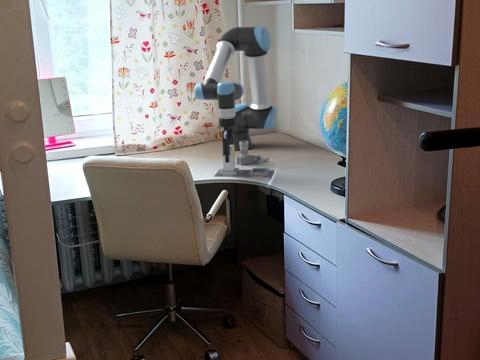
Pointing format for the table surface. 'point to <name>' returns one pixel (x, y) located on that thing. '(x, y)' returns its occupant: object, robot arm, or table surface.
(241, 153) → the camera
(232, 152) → the plug
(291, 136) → the table surface
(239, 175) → the panel
